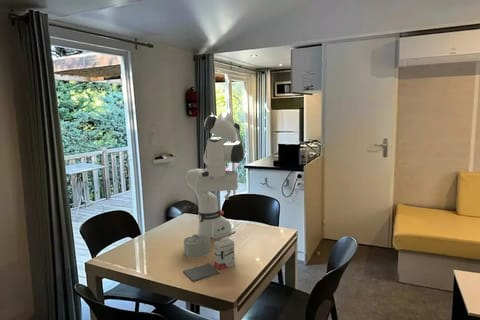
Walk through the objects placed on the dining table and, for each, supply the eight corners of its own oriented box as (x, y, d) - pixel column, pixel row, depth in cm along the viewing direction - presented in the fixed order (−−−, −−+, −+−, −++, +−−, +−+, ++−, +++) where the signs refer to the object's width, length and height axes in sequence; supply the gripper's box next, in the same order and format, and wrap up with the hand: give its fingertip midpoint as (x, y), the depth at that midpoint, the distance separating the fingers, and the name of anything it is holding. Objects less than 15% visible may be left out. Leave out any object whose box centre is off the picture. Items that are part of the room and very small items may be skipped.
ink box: (219, 270, 155) (218, 245, 153) (214, 266, 159) (213, 242, 157) (235, 265, 160) (234, 241, 158) (229, 261, 164) (228, 237, 162)
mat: (208, 264, 161) (208, 263, 161) (219, 273, 152) (219, 272, 152) (183, 271, 154) (183, 270, 154) (193, 281, 145) (193, 280, 145)
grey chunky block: (183, 251, 178) (182, 235, 176) (207, 247, 182) (207, 231, 181) (187, 259, 168) (186, 242, 167) (213, 254, 172) (212, 238, 171)
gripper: (235, 169, 168) (236, 197, 170) (194, 171, 163) (195, 200, 164) (239, 171, 162) (239, 199, 164) (196, 173, 157) (197, 203, 158)
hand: (217, 200), depth 164 cm, fingers open, 8 cm apart
